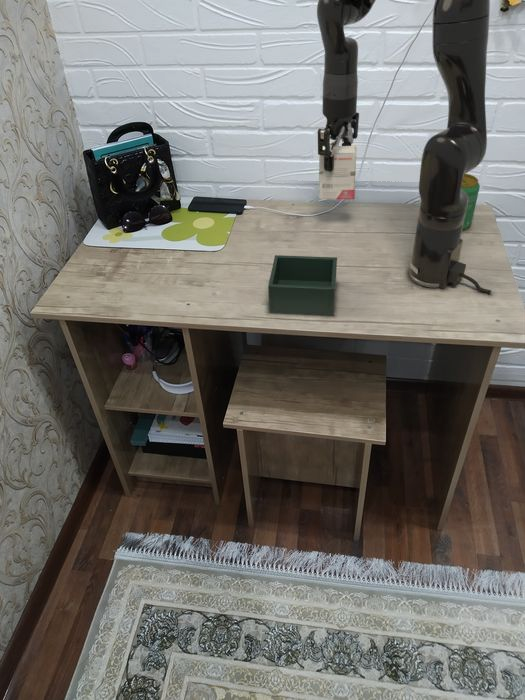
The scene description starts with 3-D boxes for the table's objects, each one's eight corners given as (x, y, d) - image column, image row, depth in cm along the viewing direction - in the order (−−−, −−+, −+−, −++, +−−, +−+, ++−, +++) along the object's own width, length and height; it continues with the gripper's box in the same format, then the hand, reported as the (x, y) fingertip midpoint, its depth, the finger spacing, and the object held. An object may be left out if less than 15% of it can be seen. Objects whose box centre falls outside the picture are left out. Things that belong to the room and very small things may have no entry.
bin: (335, 283, 128) (337, 257, 124) (333, 316, 120) (334, 289, 115) (275, 281, 130) (274, 255, 125) (269, 312, 122) (268, 286, 117)
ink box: (354, 191, 142) (357, 144, 134) (354, 200, 139) (357, 152, 131) (319, 191, 143) (320, 144, 135) (318, 200, 140) (319, 153, 132)
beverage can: (462, 214, 148) (471, 170, 140) (476, 230, 142) (486, 185, 134) (433, 218, 147) (440, 174, 139) (445, 234, 141) (454, 189, 133)
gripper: (336, 105, 119) (334, 180, 130) (371, 85, 127) (366, 157, 138) (307, 99, 122) (307, 172, 134) (342, 80, 131) (340, 150, 142)
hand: (337, 164), depth 136 cm, fingers closed on ink box, 7 cm apart
